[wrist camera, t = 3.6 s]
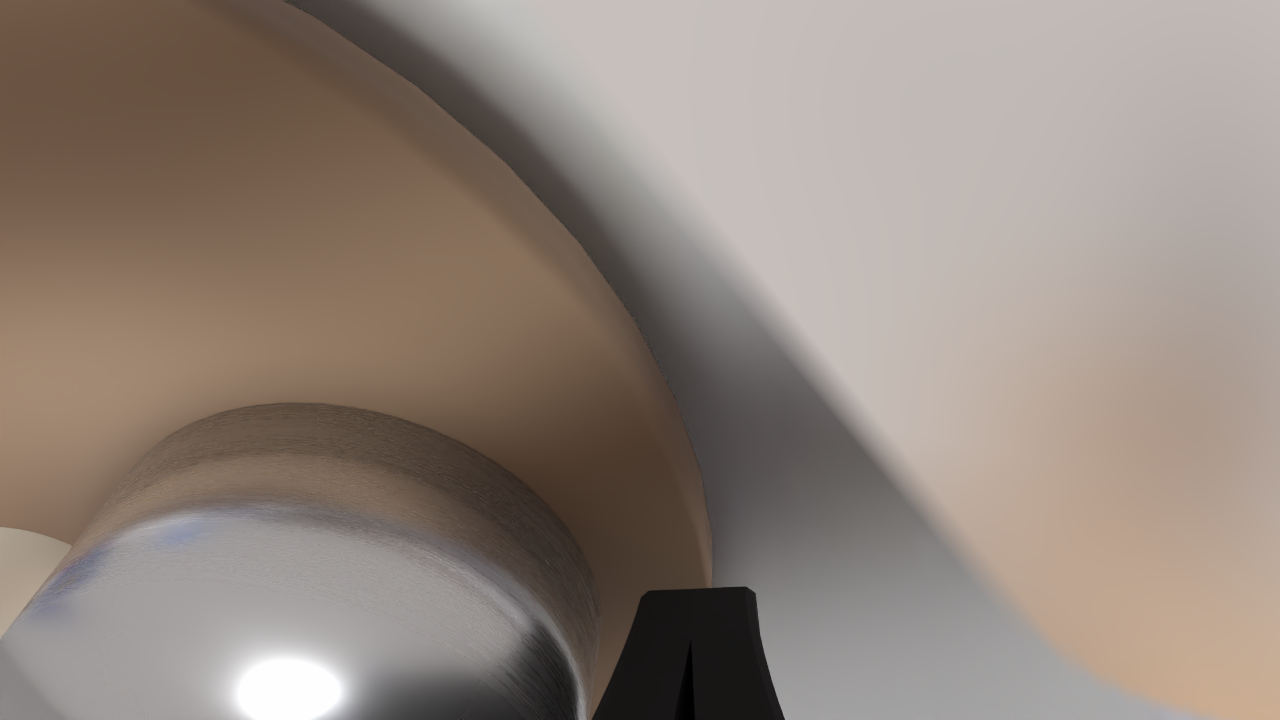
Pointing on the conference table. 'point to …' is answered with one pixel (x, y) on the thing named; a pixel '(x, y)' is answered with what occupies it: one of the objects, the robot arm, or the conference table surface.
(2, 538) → the platter
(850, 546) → the conference table surface
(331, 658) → the aluminium cap
